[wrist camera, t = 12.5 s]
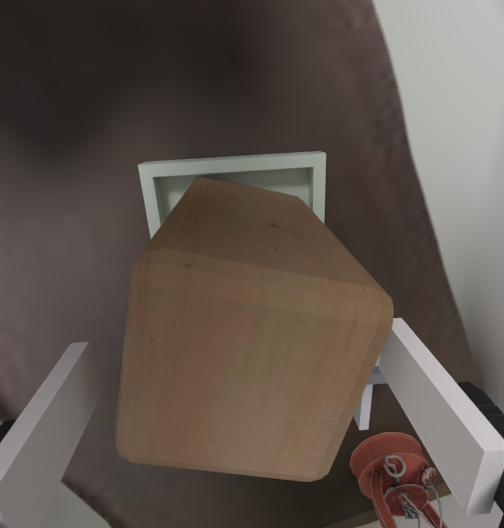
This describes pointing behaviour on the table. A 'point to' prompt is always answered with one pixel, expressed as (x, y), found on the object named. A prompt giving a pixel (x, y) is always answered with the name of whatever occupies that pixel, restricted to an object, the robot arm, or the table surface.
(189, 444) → the wooden block
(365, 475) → the lantern
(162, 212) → the tray
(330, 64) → the table surface
